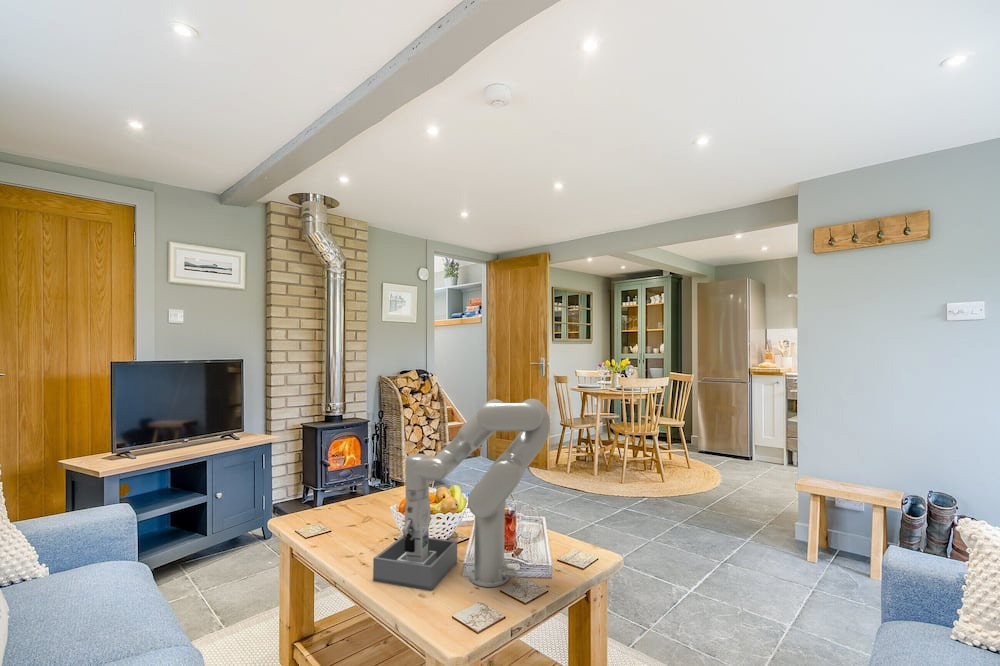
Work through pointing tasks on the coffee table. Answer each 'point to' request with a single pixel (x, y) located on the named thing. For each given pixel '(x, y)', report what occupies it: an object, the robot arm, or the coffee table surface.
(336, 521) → the coffee table surface
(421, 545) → the syrup box
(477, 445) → the robot arm
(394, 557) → the walled box
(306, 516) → the coffee table surface
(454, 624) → the coffee table surface
